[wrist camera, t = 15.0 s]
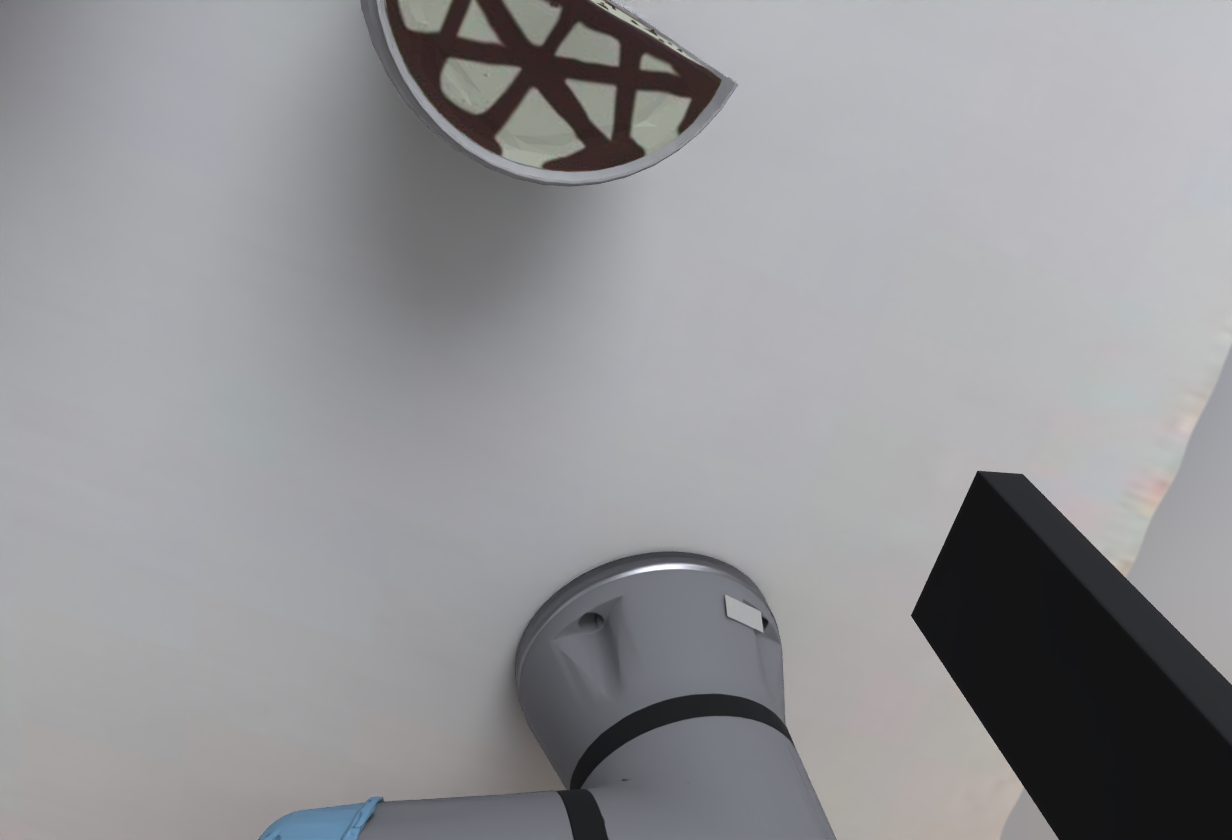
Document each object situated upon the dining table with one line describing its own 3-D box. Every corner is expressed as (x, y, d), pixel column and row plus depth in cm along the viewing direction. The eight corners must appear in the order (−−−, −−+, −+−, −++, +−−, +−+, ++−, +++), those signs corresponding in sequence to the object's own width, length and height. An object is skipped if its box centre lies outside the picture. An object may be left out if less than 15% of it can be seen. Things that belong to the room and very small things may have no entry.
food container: (313, 27, 35) (283, 84, 26) (378, -141, 32) (368, -139, 24) (599, 175, 39) (651, 263, 31) (674, 38, 37) (751, 92, 29)
